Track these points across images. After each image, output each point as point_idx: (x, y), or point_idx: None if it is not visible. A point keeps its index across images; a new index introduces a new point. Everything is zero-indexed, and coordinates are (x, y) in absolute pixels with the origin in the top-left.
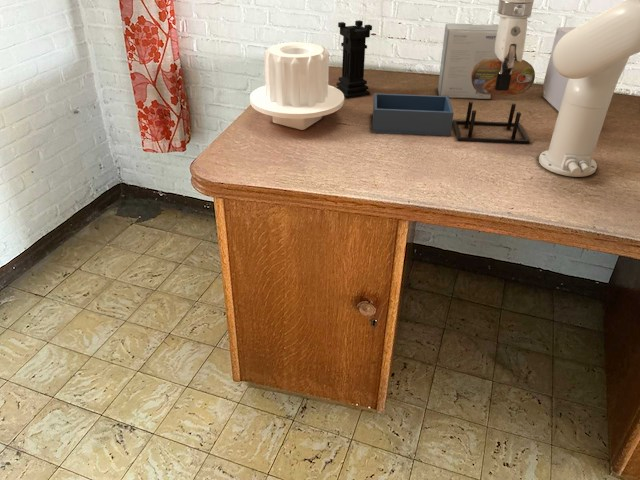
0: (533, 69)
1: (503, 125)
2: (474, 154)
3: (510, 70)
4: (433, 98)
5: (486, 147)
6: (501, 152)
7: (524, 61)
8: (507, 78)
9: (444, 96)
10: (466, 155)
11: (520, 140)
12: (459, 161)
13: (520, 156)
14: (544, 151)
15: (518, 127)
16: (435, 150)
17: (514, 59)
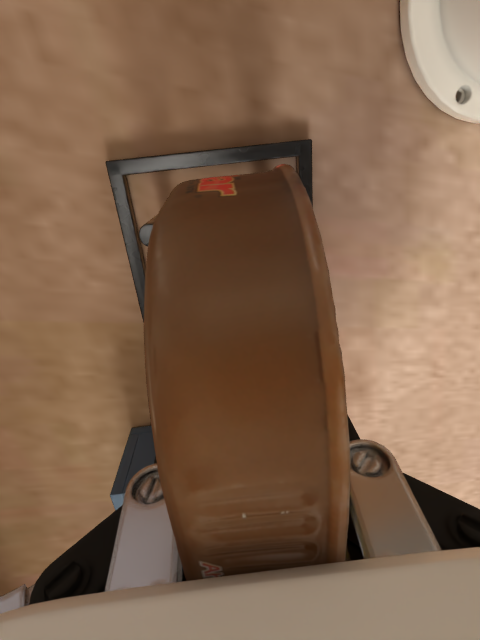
0: (312, 217)
1: (137, 235)
2: (407, 342)
3: (469, 510)
4: None
5: (353, 306)
6: (390, 259)
7: (347, 442)
8: (353, 434)
9: (120, 506)
10: (414, 363)
11: (310, 182)
12: (452, 380)
13: (423, 192)
14: (435, 87)
15: (154, 171)
16: (382, 436)
17: (235, 555)
